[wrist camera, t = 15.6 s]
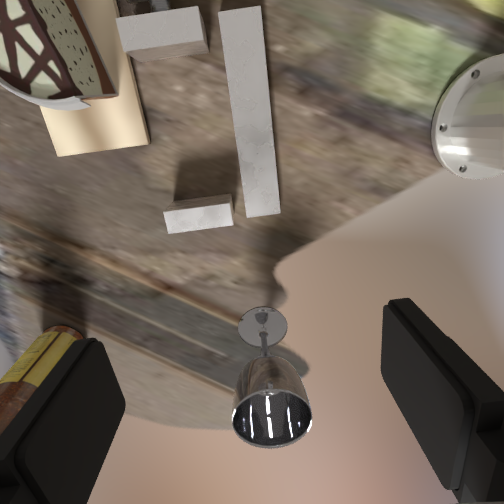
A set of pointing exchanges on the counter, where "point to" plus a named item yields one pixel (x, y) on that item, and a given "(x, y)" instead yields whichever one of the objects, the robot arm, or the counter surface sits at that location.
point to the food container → (51, 55)
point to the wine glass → (268, 387)
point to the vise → (241, 96)
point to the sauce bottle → (32, 370)
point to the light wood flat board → (102, 110)
